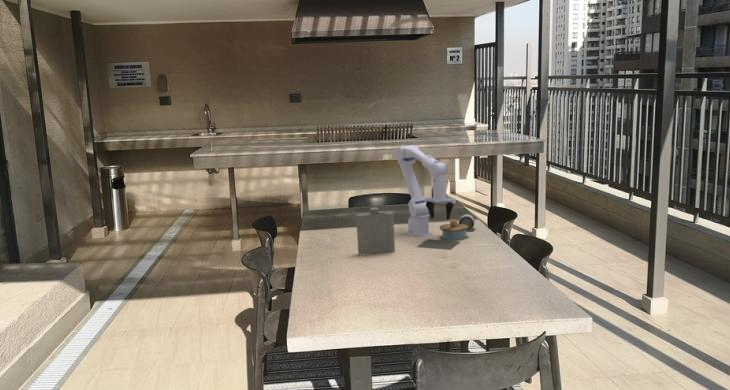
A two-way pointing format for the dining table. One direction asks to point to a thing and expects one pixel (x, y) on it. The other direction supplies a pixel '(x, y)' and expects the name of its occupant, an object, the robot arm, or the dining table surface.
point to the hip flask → (375, 232)
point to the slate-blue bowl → (454, 235)
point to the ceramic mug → (467, 221)
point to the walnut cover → (453, 226)
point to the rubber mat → (438, 244)
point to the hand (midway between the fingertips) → (440, 218)
